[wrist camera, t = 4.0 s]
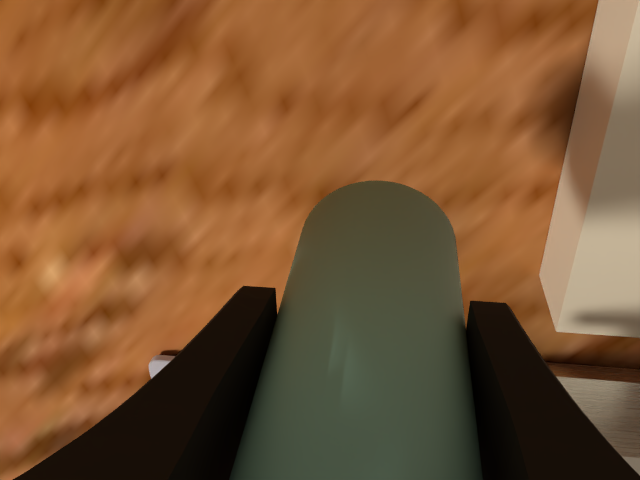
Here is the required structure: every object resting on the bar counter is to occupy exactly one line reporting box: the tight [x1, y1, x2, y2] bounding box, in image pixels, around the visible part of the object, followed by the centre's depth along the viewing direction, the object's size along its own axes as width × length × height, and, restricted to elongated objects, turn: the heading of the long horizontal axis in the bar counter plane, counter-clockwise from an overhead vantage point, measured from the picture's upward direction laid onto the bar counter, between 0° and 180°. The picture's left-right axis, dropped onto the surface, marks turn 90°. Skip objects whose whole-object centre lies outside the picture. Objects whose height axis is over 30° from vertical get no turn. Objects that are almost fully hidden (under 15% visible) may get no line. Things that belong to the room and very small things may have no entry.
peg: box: [229, 181, 483, 480], centre depth 10 cm, size 4×4×9 cm
